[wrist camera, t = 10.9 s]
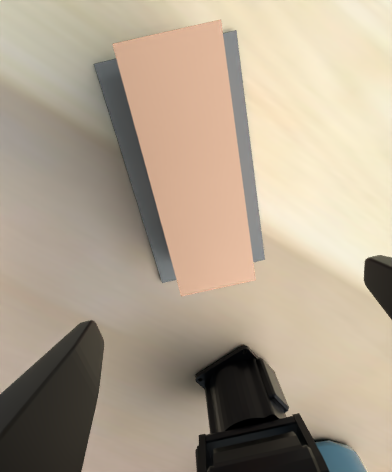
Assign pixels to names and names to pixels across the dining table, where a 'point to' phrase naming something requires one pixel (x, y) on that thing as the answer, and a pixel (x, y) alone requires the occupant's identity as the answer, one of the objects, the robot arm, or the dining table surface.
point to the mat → (136, 165)
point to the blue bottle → (340, 457)
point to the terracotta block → (190, 151)
